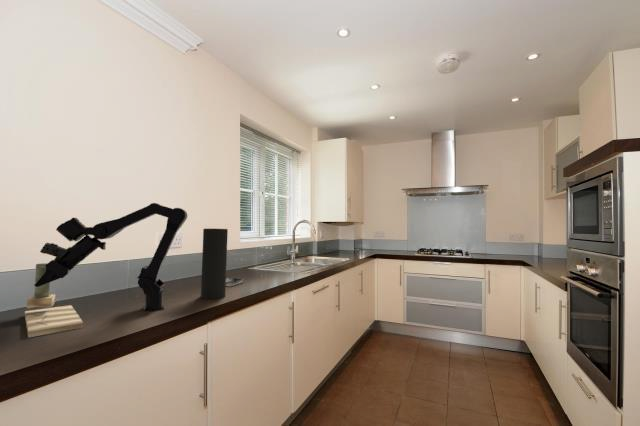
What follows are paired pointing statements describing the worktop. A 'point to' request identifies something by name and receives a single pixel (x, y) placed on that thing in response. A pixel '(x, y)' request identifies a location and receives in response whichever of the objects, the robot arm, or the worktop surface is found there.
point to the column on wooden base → (41, 292)
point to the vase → (214, 263)
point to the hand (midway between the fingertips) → (36, 285)
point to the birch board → (52, 320)
